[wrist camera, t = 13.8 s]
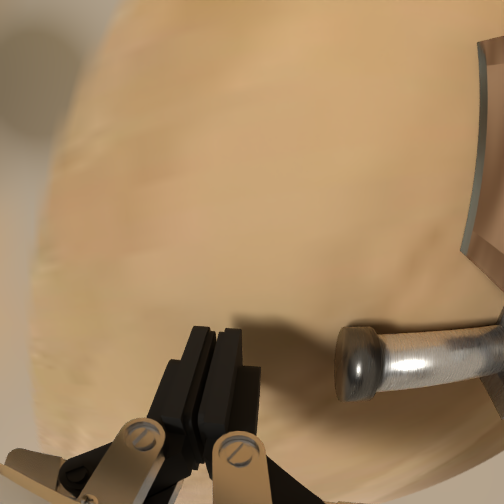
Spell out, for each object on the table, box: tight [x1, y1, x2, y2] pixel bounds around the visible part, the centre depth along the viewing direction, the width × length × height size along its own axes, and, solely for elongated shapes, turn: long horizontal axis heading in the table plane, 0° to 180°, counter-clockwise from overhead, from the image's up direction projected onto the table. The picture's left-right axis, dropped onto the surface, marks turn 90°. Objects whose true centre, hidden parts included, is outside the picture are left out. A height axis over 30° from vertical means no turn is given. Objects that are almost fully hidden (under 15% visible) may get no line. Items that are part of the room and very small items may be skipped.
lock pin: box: [334, 324, 504, 402], centre depth 10 cm, size 3×9×3 cm, turn 90°
